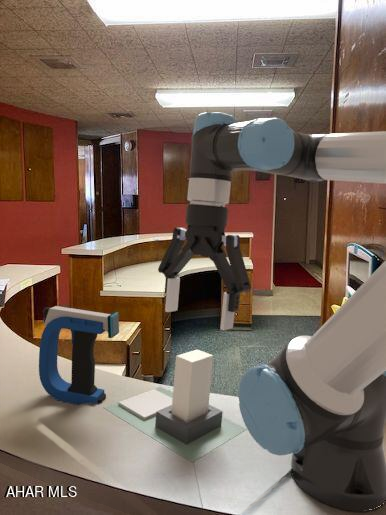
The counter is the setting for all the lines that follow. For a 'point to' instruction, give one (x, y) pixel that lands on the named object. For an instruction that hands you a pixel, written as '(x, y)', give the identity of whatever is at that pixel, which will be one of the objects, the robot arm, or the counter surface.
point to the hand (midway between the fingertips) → (197, 319)
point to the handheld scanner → (73, 352)
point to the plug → (192, 385)
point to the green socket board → (175, 424)
